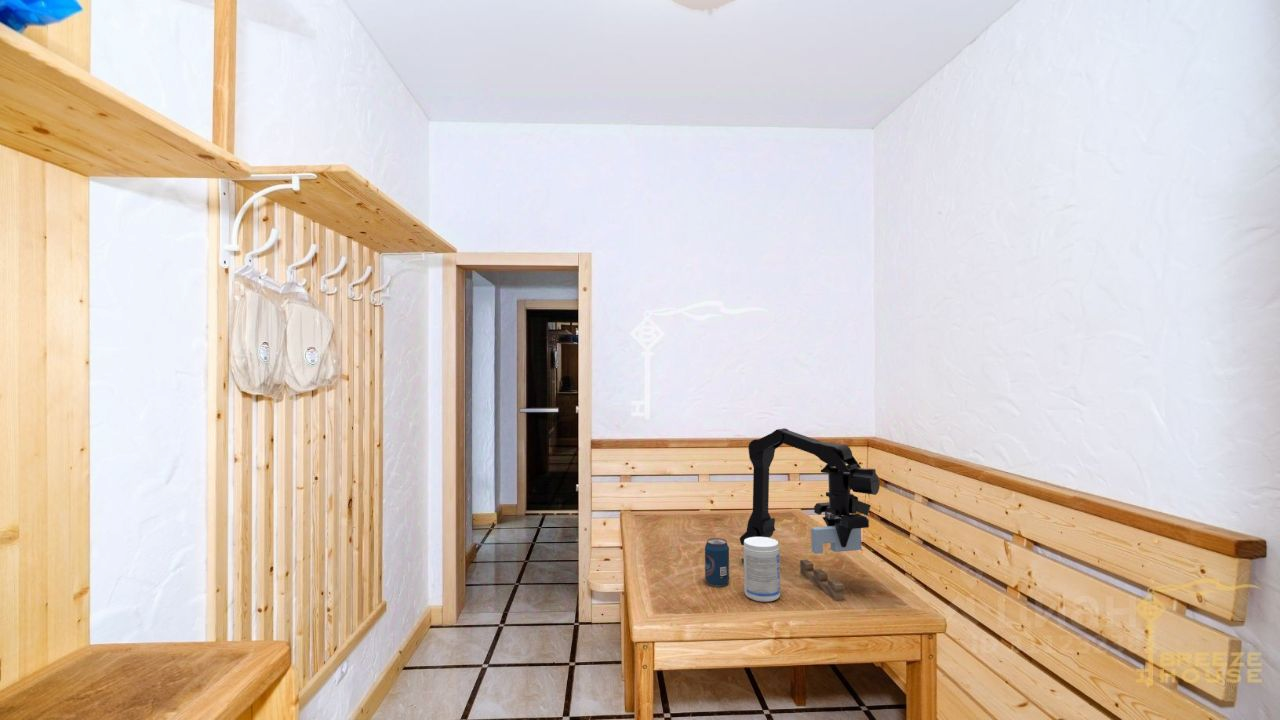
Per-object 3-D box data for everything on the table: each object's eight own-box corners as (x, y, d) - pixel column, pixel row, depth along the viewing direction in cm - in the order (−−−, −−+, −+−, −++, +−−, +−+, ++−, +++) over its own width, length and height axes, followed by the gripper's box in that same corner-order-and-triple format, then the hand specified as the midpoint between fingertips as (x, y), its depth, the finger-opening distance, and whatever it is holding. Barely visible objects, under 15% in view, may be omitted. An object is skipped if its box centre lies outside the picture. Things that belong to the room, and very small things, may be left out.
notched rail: (843, 599, 145) (843, 584, 145) (836, 600, 144) (835, 585, 144) (807, 572, 164) (806, 559, 164) (800, 573, 164) (800, 559, 164)
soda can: (700, 580, 159) (700, 539, 159) (721, 576, 161) (720, 536, 162) (713, 589, 152) (712, 546, 153) (734, 585, 155) (733, 542, 155)
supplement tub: (786, 601, 144) (785, 545, 144) (753, 604, 142) (752, 548, 142) (769, 587, 154) (769, 534, 154) (738, 590, 151) (737, 537, 152)
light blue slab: (815, 553, 150) (815, 530, 150) (811, 551, 152) (810, 527, 152) (861, 549, 153) (860, 526, 153) (856, 547, 155) (855, 524, 155)
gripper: (886, 495, 146) (887, 553, 145) (846, 482, 164) (847, 534, 163) (848, 497, 143) (850, 557, 143) (812, 484, 162) (814, 537, 161)
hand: (841, 545), depth 153 cm, fingers closed on light blue slab, 2 cm apart
